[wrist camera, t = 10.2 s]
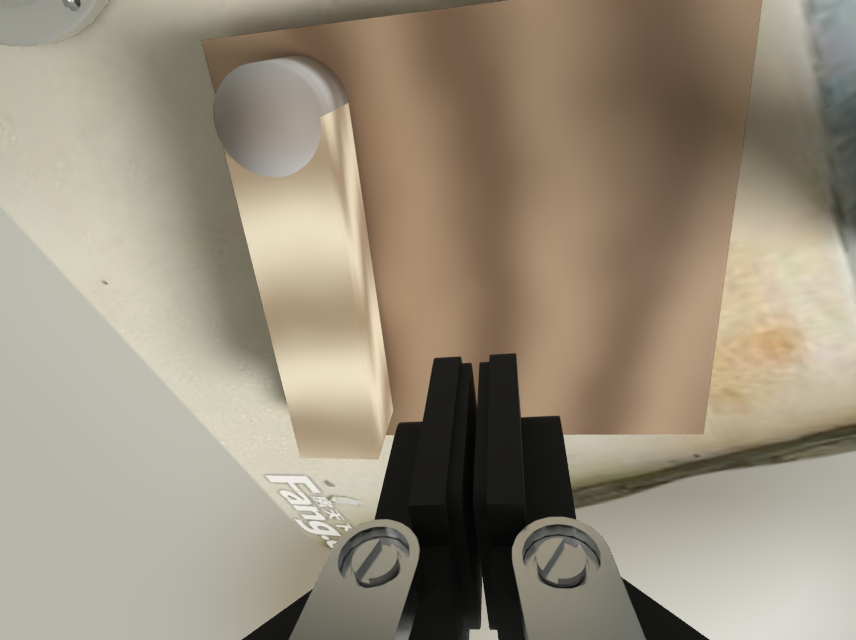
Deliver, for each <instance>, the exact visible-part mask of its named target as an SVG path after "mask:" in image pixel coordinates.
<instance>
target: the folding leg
mask: <svg viewBox="0 0 856 640" xmlns="http://www.w3.org/2000/svg"><path fill="white" fill-rule="evenodd" d="M213 112H214V122H215V127H216V130H217V133H218V136H219V138H220V140H221V142H222V144H223V148H224V152H225V156H226V160H227V164H228V168H229V172H230V176H231V180H232V184H233V188H234V192H235V196H236V200H237V204H238V208H239V212H240V216H241V220H242V224H243V229H244V233H245V237H246V241H247V245H248V249H249V253H250V257H251V261H252V265H253V269H254V273H255V277H256V281H257V285H258V289H259V293H260V297H261V301H262V305H263V309H264V313H265V317H266V321H267V325H268V329H269V333H270V337H271V341H272V345H273V349H274V353H275V357H276V361H277V365H278V369H279V373H280V377H281V381H282V385H283V389H284V393H285V397H286V401H287V405H288V410H289V414H290V418H291V422H292V426H293V430H294V434H295V438H296V442H297V446H298V450H299V454H300V458H336V459H378V458H379V455H380V452H381V448H382V445H383V442H384V439H385V436H386V432H387V429H388V426H389V423H390V419H391V416H392V413H393V404H392V398H391V391H390V384H389V377H388V370H387V363H386V356H385V350H384V343H383V336H382V329H381V322H380V315H379V308H378V302H377V295H376V288H375V281H374V274H373V267H372V261H371V254H370V247H369V240H368V233H367V226H366V219H365V213H364V206H363V199H362V192H361V185H360V178H359V171H358V165H357V158H356V151H355V144H354V137H353V130H352V124H351V117H350V110H349V103H348V98H347V94H346V91H345V89H344V87H343V85H342V83H341V81H340V80H339V78H338V77H337V75H336V74H335V73H334V72H333V71H332V70H331V69H330V68H329V67H328V66H326V65H325V64H324V63H322V62H320V61H319V60H316V59H314V58H311V57H307V56H301V55H299V56H289V57H283V58H278V59H272V60H266V61H260V62H254V63H248V64H245V65H242V66H239V67H238V68H236V69H234V70H233V71H231V72H230V73H229V74H228V75H227V76H226V77H225V78H224V79H223V81H222V82H221V84H220V86H219V88H218V90H217V93H216V96H215V100H214V111H213Z"/></svg>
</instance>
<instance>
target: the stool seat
mask: <svg viewBox="0 0 856 640" xmlns="http://www.w3.org/2000/svg"><path fill="white" fill-rule="evenodd" d="M761 6H762V0H506V1H498V2H491V3H483V4H475V5H468V6H460V7H452V8H445V9H437V10H429V11H422V12H414V13H406V14H399V15H391V16H383V17H376V18H368V19H360V20H353V21H345V22H337V23H330V24H322V25H314V26H307V27H299V28H291V29H284V30H276V31H268V32H261V33H253V34H245V35H238V36H230V37H223V38H215V39H207V40H201V42H202V45H203V49H204V53H205V57H206V61H207V64H208V68H209V72H210V76H211V80H212V84H213V87H214V91H215V95H216V93H217V90H218V88H219V86H220V84H221V82H222V81H223V79H224V78H225V77H226V76H227V75H228V74H229V73H230V72H231V71H233V70H234V69H236V68H238V67H239V66H242V65H245V64H248V63H254V62H260V61H266V60H272V59H278V58H283V57H289V56H299V55H301V56H307V57H311V58H314V59H316V60H319V61H320V62H322V63H324V64H325V65H326V66H328V67H329V68H330V69H331V70H332V71H333V72H334V73H335V74H336V75H337V77H338V78H339V80H340V81H341V83H342V85H343V87H344V89H345V91H346V94H347V98H348V103H349V110H350V117H351V124H352V130H353V137H354V144H355V151H356V158H357V165H358V171H359V178H360V185H361V192H362V199H363V206H364V213H365V219H366V226H367V233H368V240H369V247H370V254H371V261H372V267H373V274H374V281H375V288H376V295H377V302H378V308H379V315H380V322H381V329H382V336H383V343H384V350H385V356H386V363H387V370H388V377H389V384H390V391H391V398H392V404H393V413H392V416H391V419H390V423H389V426H388V429H387V432H386V435H395V432H396V428H397V425H398V424H399V423H400V422H419V421H423V416H424V410H425V405H426V399H427V393H428V388H429V382H430V377H431V371H432V365H433V360H434V358H441V357H458V356H461V359H462V363H472V368H473V376H474V385H475V393H476V402H477V401H478V381H479V363H480V362H489V355H491V354H508V353H516V356H517V370H518V383H519V396H520V410H521V417H539V416H560V419H561V425H562V431H563V435H576V434H704V427H705V420H706V413H707V405H708V398H709V390H710V383H711V376H712V368H713V361H714V353H715V346H716V339H717V331H718V324H719V317H720V309H721V302H722V294H723V287H724V280H725V272H726V265H727V257H728V250H729V243H730V235H731V228H732V221H733V213H734V206H735V198H736V191H737V184H738V176H739V169H740V161H741V154H742V147H743V139H744V132H745V124H746V117H747V110H748V102H749V95H750V88H751V80H752V73H753V65H754V58H755V51H756V43H757V36H758V28H759V21H760V14H761Z"/></svg>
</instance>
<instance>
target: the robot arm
mask: <svg viewBox="0 0 856 640" xmlns="http://www.w3.org/2000/svg"><path fill="white" fill-rule="evenodd" d="M108 2H109V0H0V44H3V45H8V46H38V45H45V44H52V43H58V42H60V41H62V40H65V39H67V38H70V37H72V36H74V35H77V34H78V33H79V32H81V31H82V30H83V29H84V28H86V27H87V26H88V25H90V24H91V23H92V22H93V21H94V20H95V19H96V18H97V16H98V15H99V14H100V13H101V11H102V10H103V9H104V7H105V6H106V5H107V3H108ZM482 577H483V584H484V592H485V599H486V606H487V614H488V621H489V628H490V630H497V631H498V639H499V640H709V639H708V638H706V637H705V636H703V635H701V633H699V632H698V631H696V630H695V629H693V628H692V627H690V626H689V625H688V624H686V623H685V622H684V621H682V620H681V619H679V618H678V617H676V616H675V615H674V614H672V613H671V612H670V611H668V610H667V609H665V608H664V607H663V606H661V605H660V604H658V603H657V602H656V601H654V600H653V599H651V598H650V597H648V596H647V595H646V594H644V593H643V592H641V591H640V590H639V589H637V588H636V587H634V586H633V585H632V584H630V583H629V582H627V581H626V580H625V579H623V578H622V577H621V576H620V573H619V571H618V568H617V565H616V563H615V560H614V558H613V555H612V553H611V550H610V548H609V546H608V545H607V543H606V541H605V540H604V538H603V536H601V535H600V534H599V533H598V532H597V531H596V530H595V529H594V528H592V527H591V526H589V525H587V524H585V523H583V522H581V521H579V520H576V515H575V508H574V502H573V496H572V489H571V483H570V476H569V470H568V463H567V457H566V450H565V444H564V438H563V431H562V425H561V419H560V416H539V417H521V410H520V396H519V383H518V370H517V356H516V353H508V354H491V355H489V362H480V363H479V381H478V401H477V402H476V393H475V385H474V376H473V368H472V363H462V359H461V356H458V357H441V358H434V360H433V365H432V371H431V377H430V382H429V388H428V393H427V399H426V405H425V410H424V416H423V421H419V422H400V423H399V424H398V425H397V428H396V432H395V436H394V440H393V444H392V449H391V453H390V457H389V461H388V466H387V470H386V474H385V478H384V482H383V487H382V491H381V495H380V499H379V503H378V508H377V512H376V516H375V520H372V521H368V522H364V523H361V524H359V525H357V526H355V527H354V528H352V529H350V530H348V531H347V532H346V533H345V534H344V535H343V536H342V537H340V538H339V539H338V541H337V542H336V544H335V545H334V547H333V548H332V550H331V552H330V554H329V556H328V558H327V561H326V562H325V565H324V567H323V569H322V571H321V573H320V575H319V577H318V580H317V581H316V584H315V586H314V588H313V589H312V590H311V591H309V592H308V593H306V594H305V595H304V596H302V597H301V598H299V599H298V600H297V601H295V602H294V603H293V604H291V605H290V606H288V607H287V608H285V609H284V610H283V611H281V612H280V613H279V614H277V615H276V616H274V617H273V618H272V619H270V620H269V621H267V622H266V623H265V624H263V625H262V626H260V627H259V628H258V629H256V630H255V631H253V632H252V633H251V634H249V635H248V636H247V637H245V638H244V639H242V640H469V629H480V627H481V599H482Z"/></svg>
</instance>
